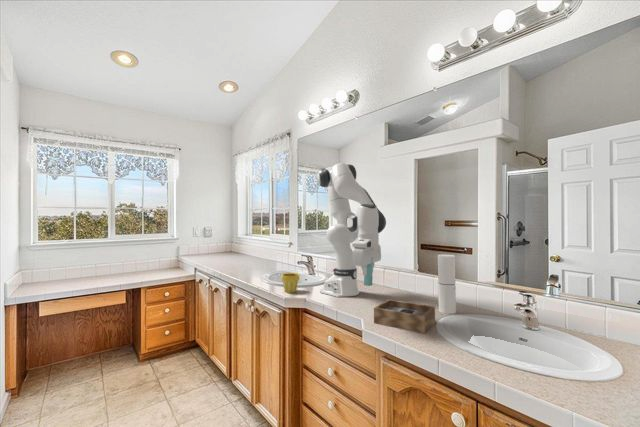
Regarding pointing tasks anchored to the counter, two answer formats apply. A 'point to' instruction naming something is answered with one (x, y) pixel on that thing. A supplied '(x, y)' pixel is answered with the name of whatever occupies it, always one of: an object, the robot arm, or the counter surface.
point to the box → (405, 315)
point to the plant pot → (290, 282)
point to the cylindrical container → (446, 284)
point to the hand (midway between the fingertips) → (368, 273)
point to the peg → (368, 277)
